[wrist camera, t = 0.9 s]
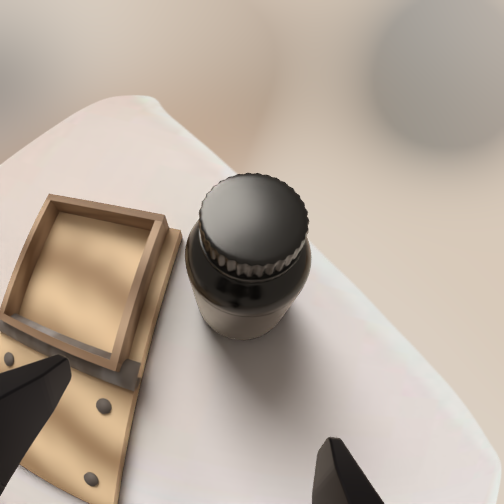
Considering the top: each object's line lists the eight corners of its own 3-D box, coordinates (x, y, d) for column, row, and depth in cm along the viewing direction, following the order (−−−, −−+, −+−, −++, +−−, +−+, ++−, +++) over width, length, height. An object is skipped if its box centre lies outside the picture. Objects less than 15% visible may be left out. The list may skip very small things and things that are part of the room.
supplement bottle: (290, 337, 23) (346, 288, 12) (199, 343, 22) (170, 300, 11) (280, 255, 26) (315, 156, 15) (197, 258, 25) (176, 158, 14)
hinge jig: (117, 508, 15) (103, 521, 13) (-10, 436, 16) (-31, 437, 13) (182, 237, 26) (177, 217, 23) (55, 210, 26) (41, 192, 23)
